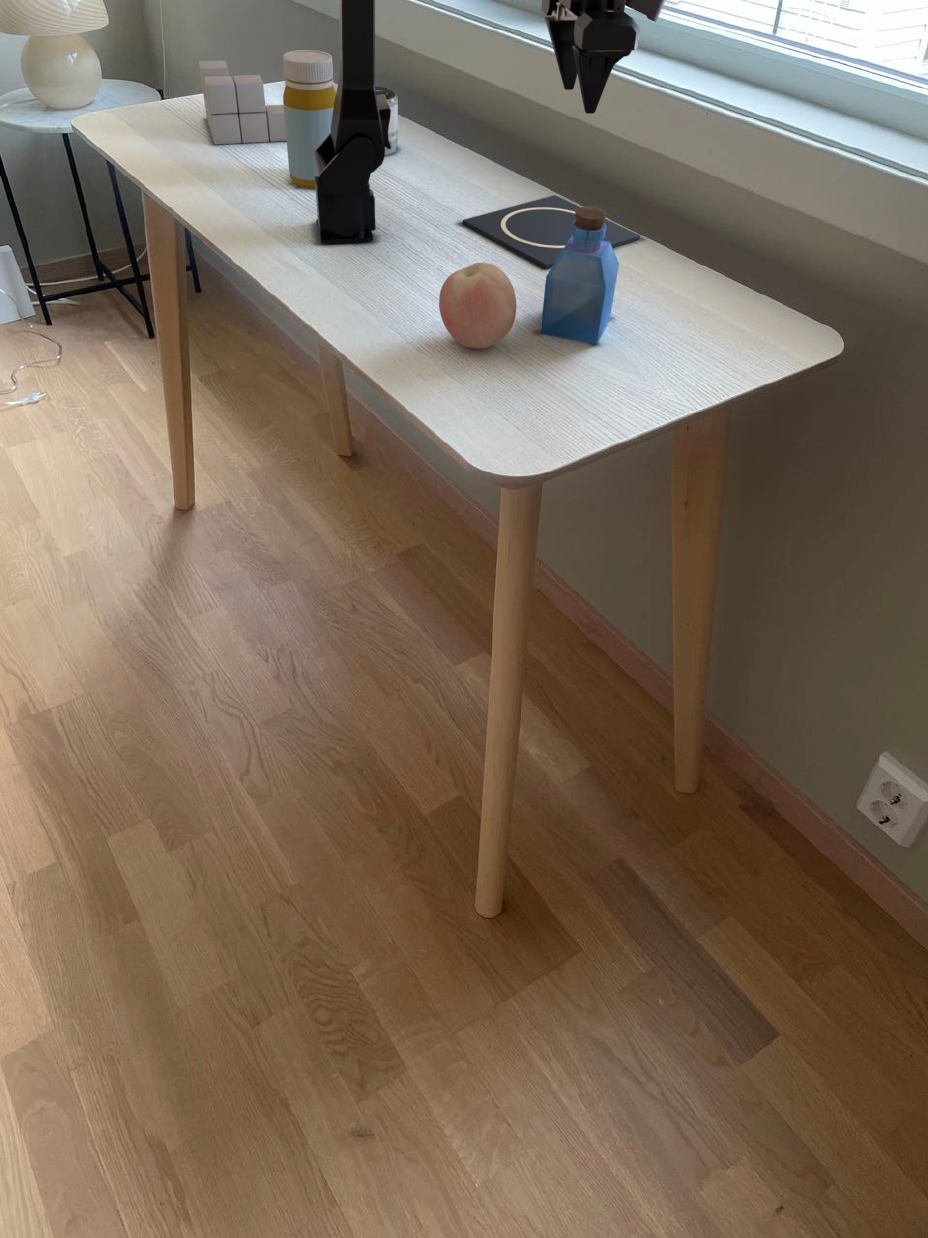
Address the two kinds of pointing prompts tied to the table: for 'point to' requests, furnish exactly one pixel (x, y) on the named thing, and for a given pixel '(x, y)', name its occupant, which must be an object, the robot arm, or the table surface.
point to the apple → (478, 305)
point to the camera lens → (391, 117)
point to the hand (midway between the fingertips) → (579, 100)
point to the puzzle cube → (239, 107)
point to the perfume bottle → (581, 281)
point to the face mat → (539, 229)
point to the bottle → (307, 110)
